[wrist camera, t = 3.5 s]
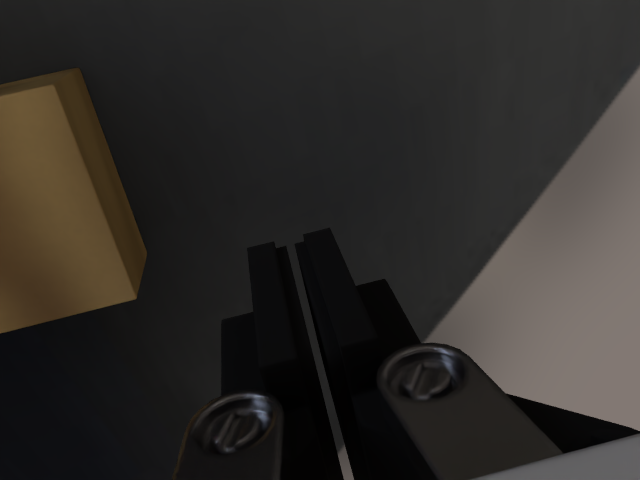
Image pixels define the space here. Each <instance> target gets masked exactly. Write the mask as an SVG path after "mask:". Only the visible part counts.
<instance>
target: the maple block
mask: <svg viewBox="0 0 640 480" xmlns="http://www.w3.org/2000/svg"><path fill="white" fill-rule="evenodd" d="M146 257H147V251H146V249H145V246H144V243H143V240H142V238H141V235H140V232H139V229H138V227H137V224H136V221H135V218H134V216H133V213H132V210H131V207H130V205H129V202H128V199H127V197H126V194H125V191H124V188H123V186H122V183H121V180H120V177H119V175H118V172H117V169H116V166H115V164H114V161H113V158H112V155H111V153H110V150H109V147H108V144H107V142H106V139H105V136H104V134H103V131H102V128H101V125H100V123H99V120H98V117H97V114H96V112H95V109H94V106H93V103H92V101H91V98H90V95H89V92H88V90H87V87H86V84H85V82H84V79H83V76H82V73H81V71H80V69H79V68H72V69H68V70H63V71H59V72H55V73H50V74H46V75H41V76H37V77H32V78H28V79H23V80H19V81H14V82H10V83H6V84H1V85H0V333H4V332H8V331H12V330H16V329H20V328H24V327H28V326H32V325H36V324H40V323H44V322H48V321H52V320H55V319H59V318H63V317H67V316H71V315H75V314H79V313H83V312H87V311H91V310H95V309H99V308H103V307H107V306H111V305H115V304H119V303H123V302H127V301H130V300H134V299H136V298H137V294H138V290H139V286H140V282H141V277H142V273H143V269H144V265H145V261H146Z"/></svg>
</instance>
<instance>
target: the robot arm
mask: <svg viewBox="0 0 640 480" xmlns="http://www.w3.org/2000/svg"><path fill="white" fill-rule="evenodd" d="M303 236H304V242H300V243H296V244H295V248H296V252H297V256H298V260H299V265H300V269H301V273H302V277H303V281H304V285H305V290H306V294H307V298H308V302H309V306H310V310H311V315H312V319H313V323H314V327H315V331H316V336H317V340H318V344H319V348H320V352H321V356H322V360H323V364H324V368H325V372H326V376H327V380H328V383H329V387H330V391H331V395H332V398H333V402H334V406H335V409H336V413H337V417H338V421H339V424H340V428H341V432H342V436H343V439H344V443H345V447H346V451H347V454H348V458H349V462H350V465H351V469H352V473H353V477H354V480H640V431H638V430H634V429H632V428H630V427H626V426H623V425H619V424H615V423H612V422H608V421H604V420H601V419H597V418H594V417H590V416H586V415H583V414H579V413H575V412H572V411H568V410H564V409H561V408H557V407H553V406H549V405H546V404H543V403H539V402H535V401H531V400H528V399H524V398H521V397H517V396H513V395H509V394H506V393H504V392H503V391H502V390H501V388H500V387H498V385H497V384H496V383H495V382H494V381H493V380H492V379H491V378H490V377H489V376H488V375H487V374H486V373H485V372H484V371H483V370H482V369H481V368H480V367H479V366H478V365H477V364H476V363H475V362H474V361H473V360H472V359H471V358H470V357H469V356H468V355H467V354H465V353H464V352H462V351H461V350H460V349H457V348H455V347H452V346H449V345H446V344H438V343H421V342H420V340H419V339H418V337H417V335H416V333H415V331H414V330H413V328H412V326H411V324H410V322H409V321H408V319H407V317H406V315H405V313H404V312H403V310H402V308H401V306H400V304H399V303H398V301H397V299H396V297H395V295H394V293H393V292H392V290H391V288H390V286H389V284H388V283H387V281H386V280H385V279H382V280H378V281H374V282H370V283H366V284H362V285H358V286H355V284H354V281H353V279H352V277H351V275H350V272H349V270H348V268H347V265H346V263H345V261H344V259H343V256H342V254H341V252H340V250H339V247H338V245H337V243H336V241H335V238H334V236H333V234H332V232H331V229H330V228H327V229H323V230H319V231H315V232H311V233H307V234H303ZM247 251H248V261H249V271H250V281H251V291H252V302H253V312H251V313H247V314H243V315H239V316H235V317H231V318H227V319H223V320H222V324H221V396H220V397H218V398H215V399H213V400H211V401H210V402H209V403H207V404H206V405H205V406H203V407H202V408H201V409H199V411H198V412H197V413H196V414H195V415H194V416H193V418H192V419H191V420H190V422H189V424H188V426H187V428H186V431H185V434H184V437H183V441H182V445H181V448H180V452H179V456H178V459H177V463H176V466H175V470H174V474H173V477H172V480H344V479H343V475H342V471H341V466H340V462H339V458H338V454H337V450H336V446H335V442H334V438H333V434H332V430H331V426H330V422H329V418H328V414H327V410H326V406H325V402H324V397H323V393H322V389H321V385H320V381H319V377H318V373H317V369H316V365H315V361H314V357H313V353H312V349H311V345H310V341H309V337H308V333H307V329H306V325H305V320H304V316H303V312H302V308H301V304H300V300H299V296H298V292H297V288H296V284H295V280H294V276H293V272H292V268H291V264H290V260H289V256H288V252H287V248H286V246H284V247H280V248H276V247H275V243H274V242H270V243H266V244H262V245H258V246H254V247H250V248H247Z"/></svg>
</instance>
